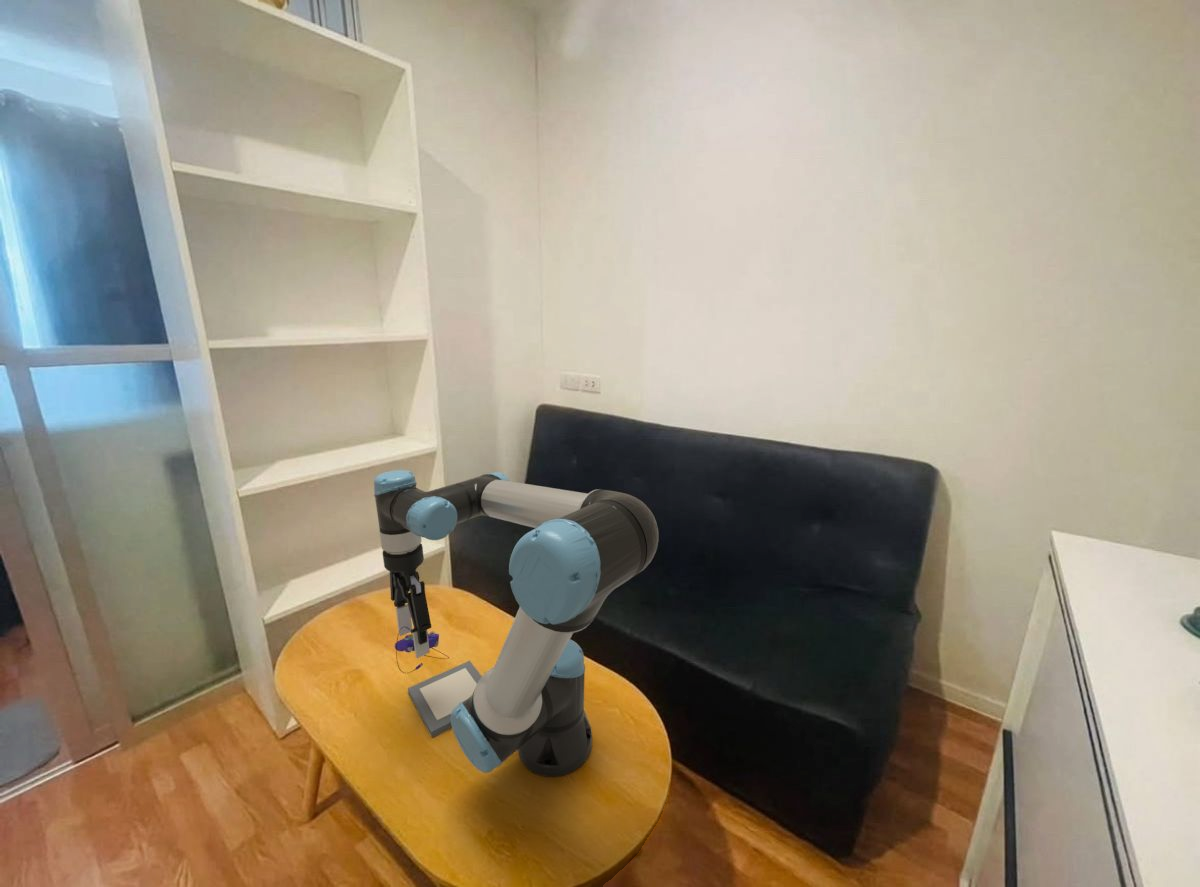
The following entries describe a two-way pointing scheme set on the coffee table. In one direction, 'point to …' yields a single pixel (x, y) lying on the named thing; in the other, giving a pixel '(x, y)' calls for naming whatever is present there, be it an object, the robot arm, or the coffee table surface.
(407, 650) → the game controller
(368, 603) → the coffee table surface
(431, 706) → the grey picture frame
